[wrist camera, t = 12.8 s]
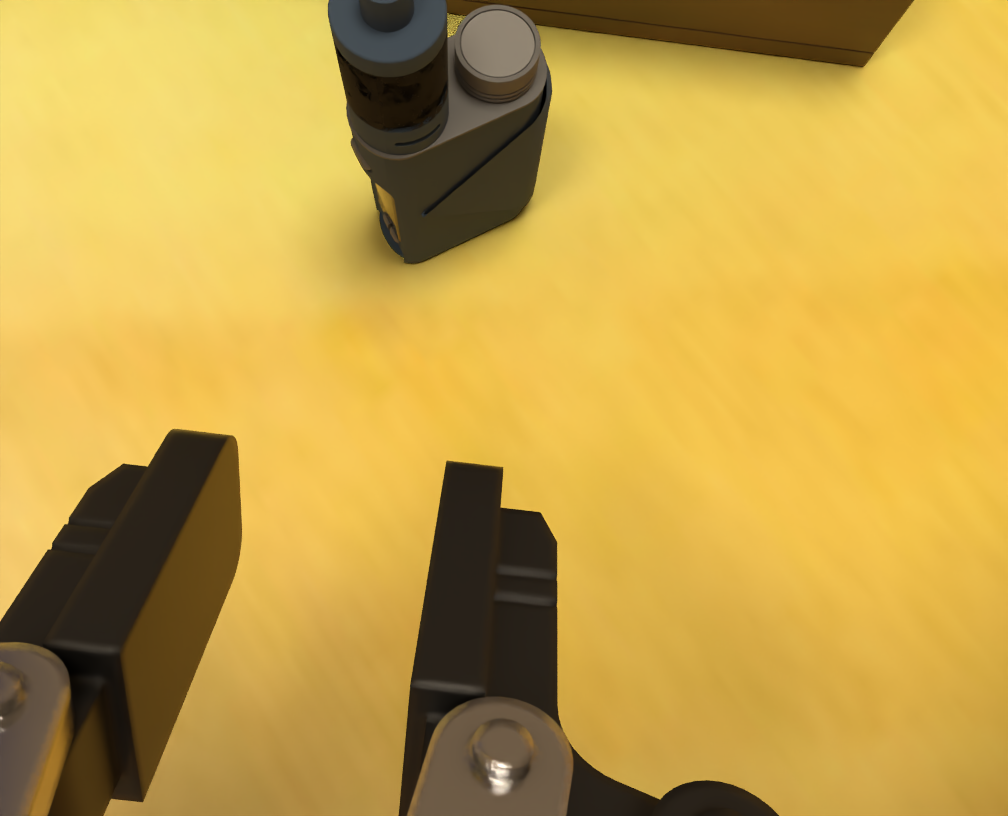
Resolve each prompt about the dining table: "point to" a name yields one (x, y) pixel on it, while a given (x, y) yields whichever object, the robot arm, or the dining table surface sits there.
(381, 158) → the vaping device
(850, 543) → the dining table surface
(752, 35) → the cabinet
